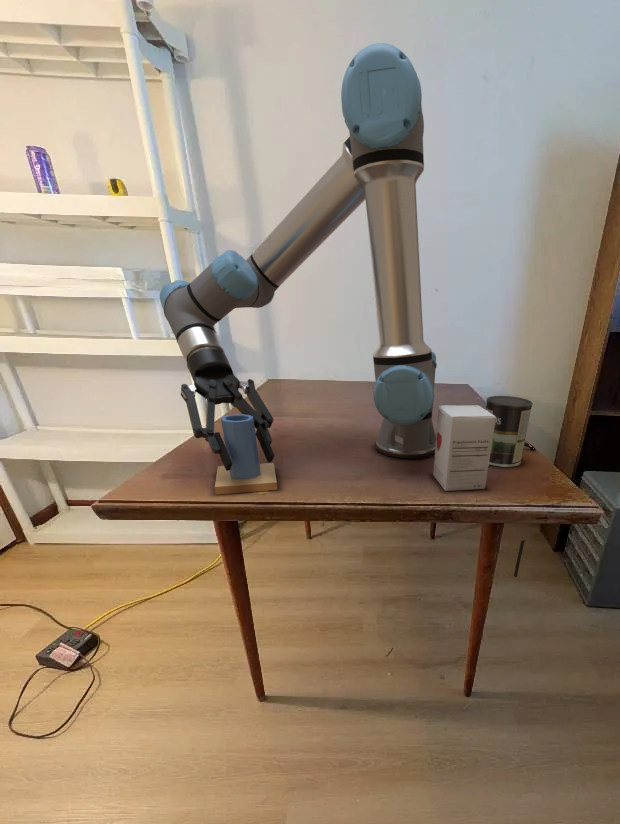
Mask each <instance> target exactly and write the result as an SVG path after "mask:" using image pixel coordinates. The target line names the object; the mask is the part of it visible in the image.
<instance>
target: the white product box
mask: <svg viewBox="0 0 620 824" xmlns="http://www.w3.org/2000/svg"><path fill="white" fill-rule="evenodd" d="M437 410H438V412H437V421H436V422H437V424H436V433H435V436H436V447H435V454H434V459H433V472H432V473H433V474H432V476H433V477H434V479H436V481H437V482H438V483H439V485H440V486H441V488H442V489H443V490H444V491H445V492H449V491H451V492H453V491H469V490H471V491H472V490H485V489H486V484H487V479H488V471H489V466H490V465H489V459H490V453H491V446H492V440H493V433H494V427H495V420H496V416H494V415H493V414H491V413H490V412H488V411H487V410H486V408H483V407H482V406H480V405H479V404H475V405H474V404H473V405H453V404H452V405H449V404H448V405H447V404H445V405H444V404H443V405H438V409H437Z"/></svg>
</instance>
